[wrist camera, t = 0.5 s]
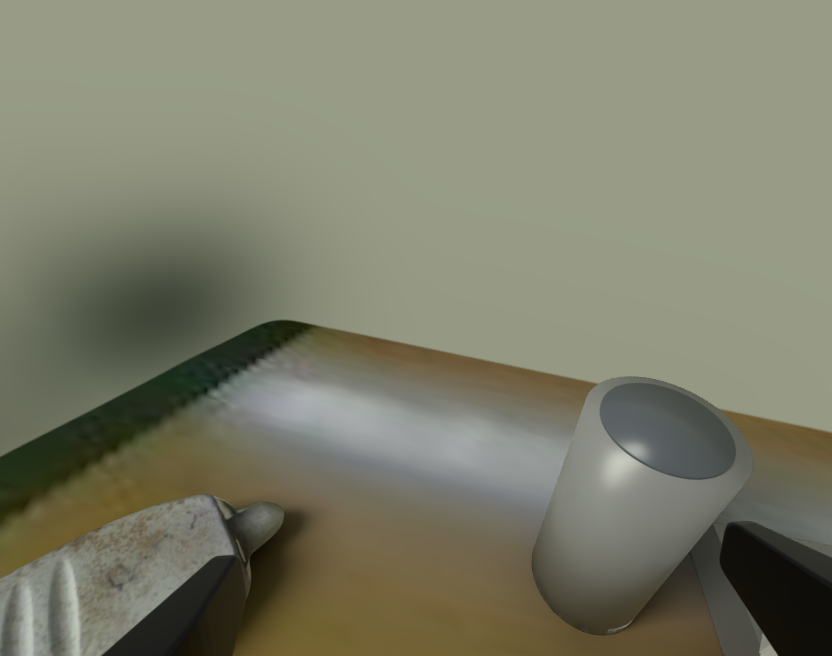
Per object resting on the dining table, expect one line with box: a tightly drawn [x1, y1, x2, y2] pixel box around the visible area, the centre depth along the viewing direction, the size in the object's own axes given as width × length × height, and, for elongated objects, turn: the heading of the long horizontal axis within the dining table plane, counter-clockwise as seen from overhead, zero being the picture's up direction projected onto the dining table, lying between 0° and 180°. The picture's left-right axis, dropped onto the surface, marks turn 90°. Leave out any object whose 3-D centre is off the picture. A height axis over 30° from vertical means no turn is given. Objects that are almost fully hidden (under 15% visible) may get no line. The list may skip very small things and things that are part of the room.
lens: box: [532, 376, 754, 635], centre depth 18 cm, size 6×6×12 cm
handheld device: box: [0, 494, 284, 656], centre depth 18 cm, size 10×20×5 cm, turn 129°
